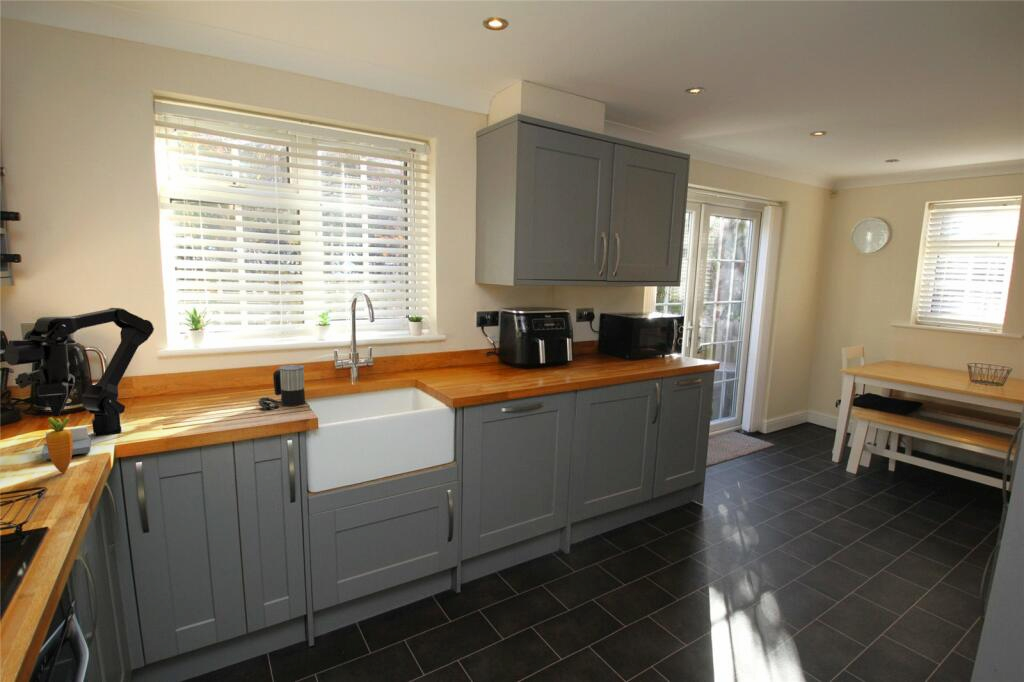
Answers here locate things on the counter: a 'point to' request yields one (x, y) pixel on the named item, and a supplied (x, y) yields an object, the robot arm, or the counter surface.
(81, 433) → the grey and white block
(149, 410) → the counter surface
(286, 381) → the milk frother
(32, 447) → the counter surface
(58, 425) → the carrot
